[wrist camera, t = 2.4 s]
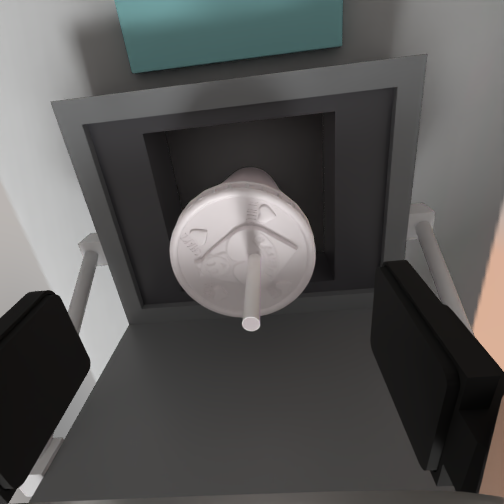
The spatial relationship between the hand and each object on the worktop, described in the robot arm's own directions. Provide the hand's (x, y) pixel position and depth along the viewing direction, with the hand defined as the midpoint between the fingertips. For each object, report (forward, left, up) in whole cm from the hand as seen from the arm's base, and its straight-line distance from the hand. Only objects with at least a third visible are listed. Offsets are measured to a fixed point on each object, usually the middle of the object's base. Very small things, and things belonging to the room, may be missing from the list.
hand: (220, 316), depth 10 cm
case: (-1, 0, -14) cm, 14 cm away
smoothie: (-1, 0, -14) cm, 14 cm away
